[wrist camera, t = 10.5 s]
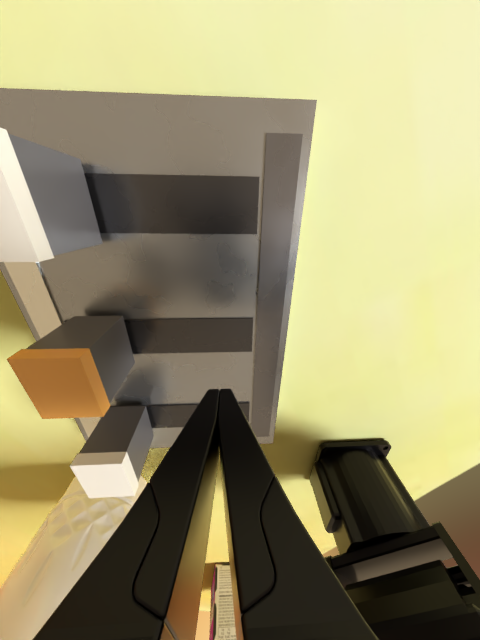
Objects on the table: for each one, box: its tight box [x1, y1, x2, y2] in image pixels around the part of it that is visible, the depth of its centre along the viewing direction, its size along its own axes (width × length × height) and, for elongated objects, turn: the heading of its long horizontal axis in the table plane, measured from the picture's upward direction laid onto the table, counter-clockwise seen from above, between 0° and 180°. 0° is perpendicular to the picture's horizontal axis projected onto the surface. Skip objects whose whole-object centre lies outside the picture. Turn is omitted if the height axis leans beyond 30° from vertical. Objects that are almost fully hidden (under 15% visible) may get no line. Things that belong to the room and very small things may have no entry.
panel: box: [0, 88, 317, 448], centre depth 13 cm, size 14×20×2 cm
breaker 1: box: [0, 128, 103, 262], centre depth 7 cm, size 2×3×4 cm
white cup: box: [0, 475, 147, 640], centre depth 16 cm, size 8×8×10 cm
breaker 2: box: [7, 316, 135, 419], centre depth 10 cm, size 2×3×4 cm
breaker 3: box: [70, 406, 154, 498], centre depth 13 cm, size 2×3×4 cm
